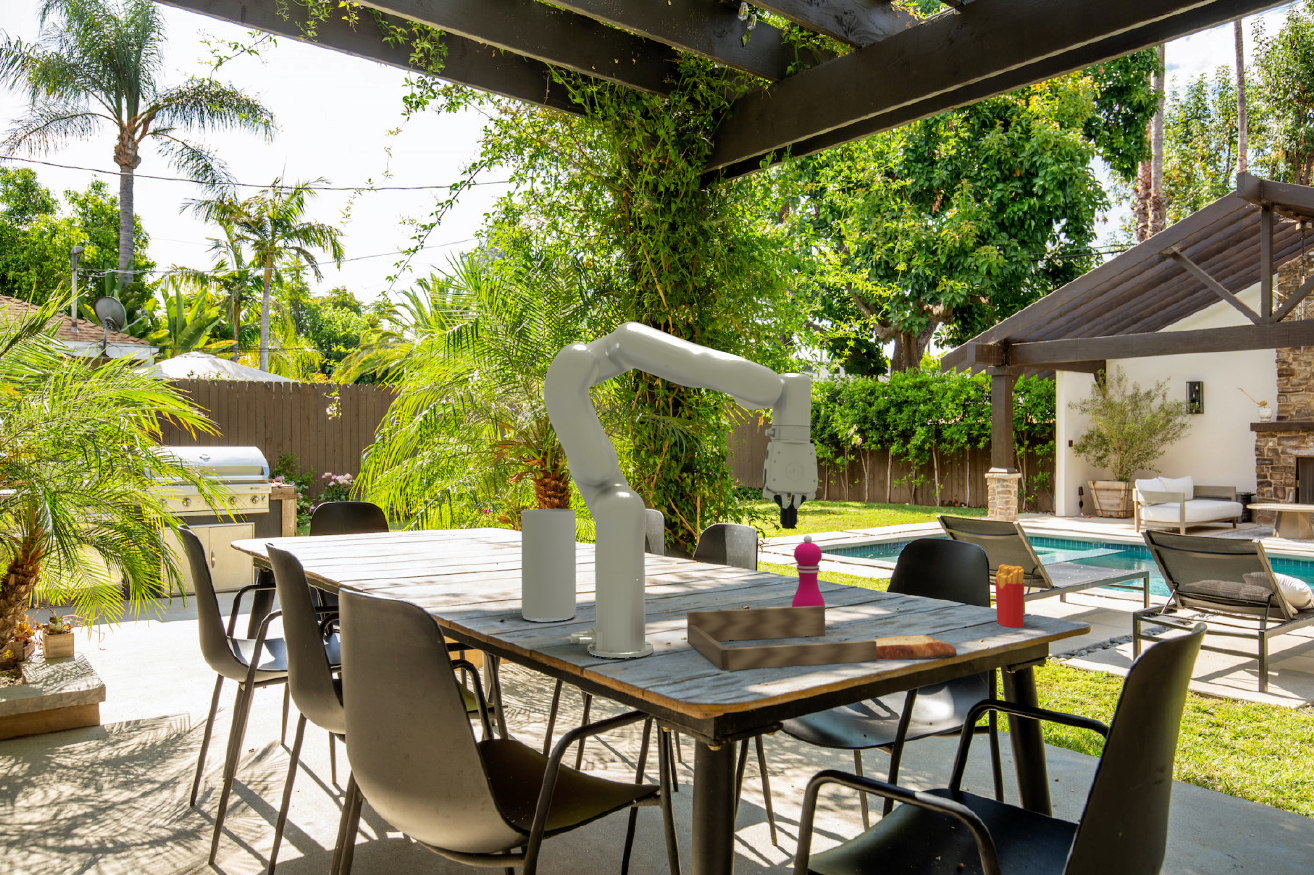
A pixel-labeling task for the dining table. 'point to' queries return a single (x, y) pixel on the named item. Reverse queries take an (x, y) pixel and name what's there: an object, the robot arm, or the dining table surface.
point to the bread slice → (912, 647)
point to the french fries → (1010, 596)
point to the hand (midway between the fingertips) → (788, 528)
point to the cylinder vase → (548, 563)
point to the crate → (767, 625)
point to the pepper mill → (807, 574)
